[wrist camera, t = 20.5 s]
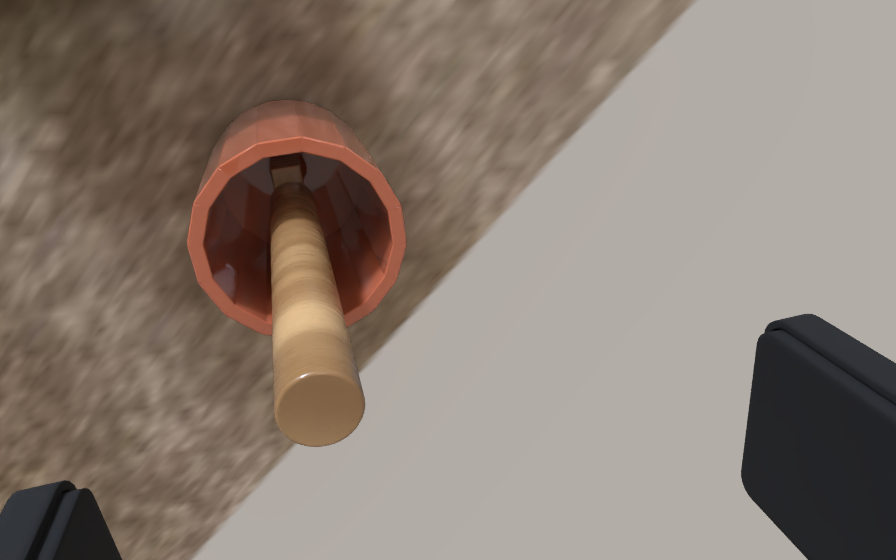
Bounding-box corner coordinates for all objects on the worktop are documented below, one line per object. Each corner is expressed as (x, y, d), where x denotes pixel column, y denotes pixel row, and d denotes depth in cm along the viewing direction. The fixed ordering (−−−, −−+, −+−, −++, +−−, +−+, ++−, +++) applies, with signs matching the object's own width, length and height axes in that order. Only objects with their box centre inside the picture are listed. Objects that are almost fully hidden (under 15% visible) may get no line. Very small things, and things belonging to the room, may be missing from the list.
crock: (355, 88, 29) (390, 122, 21) (378, 235, 32) (417, 315, 24) (191, 111, 27) (161, 157, 19) (231, 263, 30) (219, 357, 22)
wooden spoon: (262, 154, 28) (257, 357, 12) (303, 148, 28) (352, 337, 12) (276, 219, 29) (290, 480, 13) (316, 212, 30) (376, 459, 14)
